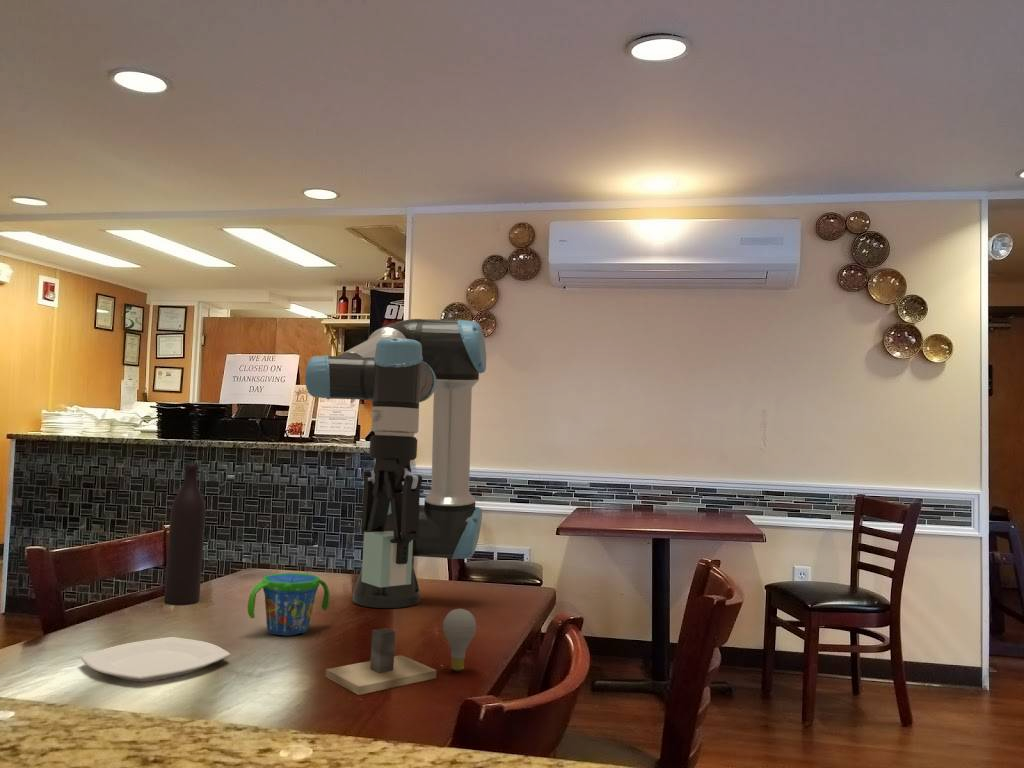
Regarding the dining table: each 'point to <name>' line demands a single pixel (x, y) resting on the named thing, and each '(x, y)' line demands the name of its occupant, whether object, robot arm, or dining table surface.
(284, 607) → the snack cup
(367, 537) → the grey-green block
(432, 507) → the robot arm
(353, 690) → the stand
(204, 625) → the dining table surface
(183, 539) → the wine bottle
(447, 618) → the light bulb
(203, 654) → the plate
